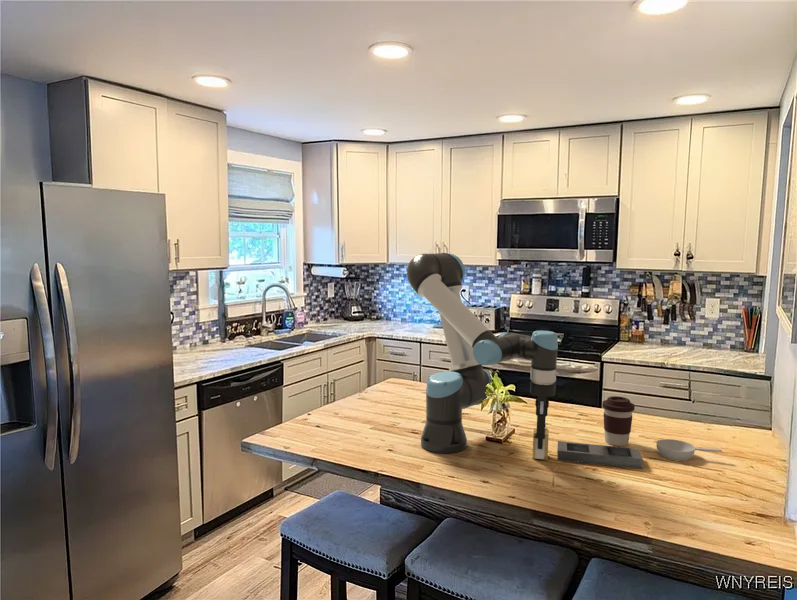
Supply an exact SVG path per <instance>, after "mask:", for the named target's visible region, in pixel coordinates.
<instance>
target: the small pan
mask: <svg viewBox="0 0 797 600" xmlns="http://www.w3.org/2000/svg"><path fill="white" fill-rule="evenodd" d="M656 450H657V451H658V453H659V455H660V456H661V455H662V456H661V457H662V458H665V459H667V458H668V459H667V460H671V459H672V460H671V461H676V460H678V461H679V462H685V460H687V461H690V460H691V459H692V457H693V456H694V455H695V451H706V452H707V451H708V452H719V453H721V452H722V449H720V448H709V447H708V448H707V447H695V446H694V444H691V443H689V442H686V441H683V440H678V439H671V438H670V439H669V438H663V439H659V440H657V441H656ZM678 461H677V462H678Z"/></svg>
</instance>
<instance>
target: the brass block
mask: <svg viewBox="0 0 797 600" xmlns="http://www.w3.org/2000/svg"><path fill="white" fill-rule="evenodd" d="M536 432H537V427H534V428H533V434H532V436H533V437H532V459H537V460H539V459H538V458H535V446H536V438H534V436H536ZM549 432H550V429H548V428H546V429H545V450H544V459H543V460H546V461H547V460H548V459H549V456H548V455H549Z"/></svg>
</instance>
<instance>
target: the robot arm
mask: <svg viewBox="0 0 797 600" xmlns="http://www.w3.org/2000/svg"><path fill="white" fill-rule="evenodd" d="M465 269H466V268H465V265H464V263H463V261H462V259H461V258H459V256H457V255H455V254H454V253H448V252H441V253H440V252H439V253H420V254H417V255H415V256H414V257H412V259H411V260H410V261H409V263H408V265H407V268H406V277H407V281H408V283H409V285H410V287H411V288H412V289H413V291H414V292H415V293H416V294H417V295H418V296H419V297H421V298H425V299H426V300H427V301H428V302H429V303H430V304H431V305H432V307H433V308H435V310H436V311H437V312H438V313H439V317H440V322H441V326H442V329H443V335H444V338H445V342H446V346H447V350H448V355H449V358H450V359H449V360H450V362H451V365H450V367H449V369H448V370H447V371H446V370H445V371H439V372H436V373H433V374H432V375H430V376H429V377H428V378H427V380H426V388H425V395H426V396H425V397H426V399H425V400H426V402H425V404H426V408H425V410H426V411H425V412H426V414H425V415H426V420H425V425H424V428H423V430H422V434H421V436H420V446H421V447H422V448H423V449H424V450H426V451H429V452H433V453H437V454H453V453H454V454H455V453H459V452H461V451H462V452H463V451H464V450H465V449H466V448H467V447H468V437H467V434H466V431H465V429H464V426H463V410H464V409H468V408H471V407H474V406H477V405H481V404H482V403H483V402H482V400H484V399H486V398H487V396H486V394H485V392H486V388H487V387H485V386H486V385H487V384H488V383H491V382H490V380H491V377H492V375H491V374H490V373H489V372H488V371H487V370H486V369H484V368H483V366H494V365H496V364H499V363H502V362H507V361H510V360H514V359H520V360H521V359H522V360H525V361H530V365H531V366H530V380H531V381H530V382H529V383H530V386H529V393H530V394H531V395H532V396H535V397H537V398H535V415H536V428H537V432H536V436H534V438H536V446H535V458H538V459H537V460H544V450H545V429H547V428H546V426H547V425H546V417H547V416H548V411H549V409H548V408H549V406H550V400H549V399H548V398H551V397H554V396H556V390H557V389H556V388H557V386H556V381H557V376H558V375H559V372H558V371H557V360H558V349H559V346H558V343H559V342H558V340H559V339H558V334H557V333H556V332H554V331H550V330H535V331H533V332H532V335H527V334H519V333H515V332H504V331H503V332H502V333H500V334H499V335H498V336H496V335H495V334H494V333H493V332H492V331H491V330H490V329H489V327H487V326H486V325H485V324H484V323H483V321H481V320H480V319H479V318H478V317H477V316H476V315H475V313H473V312H472V310H470V308H469V307H467V305H466V304H464V303H463V301H462V298H461V294H460V293H461V290H462V288H463V284H462V283H463V280H464V278H465V277H464V276H465V274H466V270H465ZM535 458H534V459H535Z"/></svg>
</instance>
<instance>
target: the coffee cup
mask: <svg viewBox="0 0 797 600" xmlns="http://www.w3.org/2000/svg"><path fill="white" fill-rule="evenodd" d="M606 398H607V399H606V400H602V404H601V405H602V406H601V407H602V408H603V410H604V411H603V429H604V441H605V443H607V444H608V445H609V446H615V447H626V446H628V445H629V442H630V441H629V440H630V435H631V430H632V424H633V412H634V411H635V407H636V406H635V404H634V403H632V402H631V400H630V398H627V397H624V396H618V395H617V396H616V395H615V396H613V395H612V396H609V397H606Z"/></svg>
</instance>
